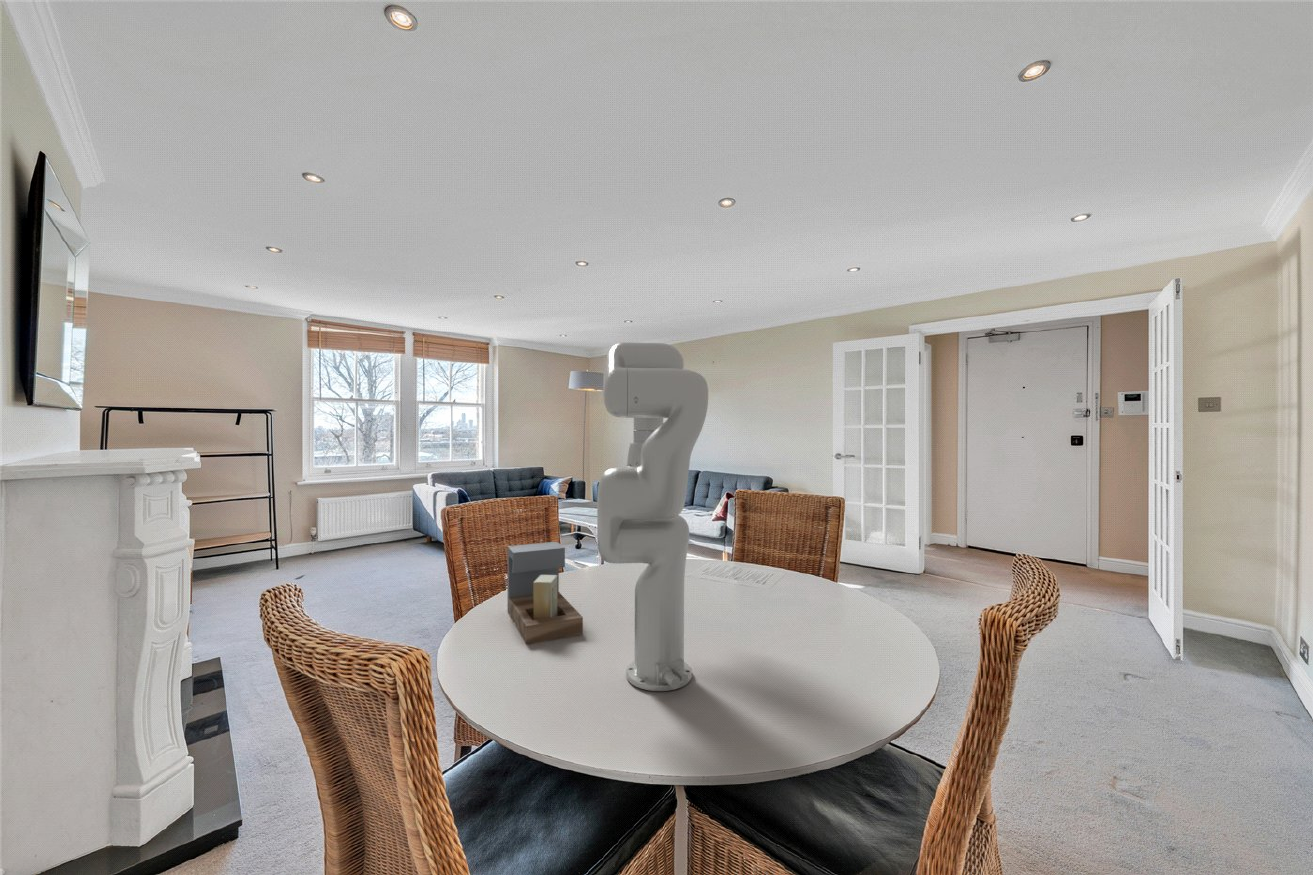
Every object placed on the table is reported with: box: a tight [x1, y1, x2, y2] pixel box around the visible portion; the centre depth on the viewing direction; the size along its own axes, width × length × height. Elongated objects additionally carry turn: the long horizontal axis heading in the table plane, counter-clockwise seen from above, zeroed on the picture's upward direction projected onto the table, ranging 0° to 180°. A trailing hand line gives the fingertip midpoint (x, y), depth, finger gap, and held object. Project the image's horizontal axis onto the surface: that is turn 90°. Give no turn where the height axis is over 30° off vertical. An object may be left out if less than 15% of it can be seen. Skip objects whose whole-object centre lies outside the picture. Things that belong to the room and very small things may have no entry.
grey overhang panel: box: [506, 541, 566, 614], centre depth 136 cm, size 8×13×17 cm, turn 116°
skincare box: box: [533, 575, 557, 620], centre depth 125 cm, size 6×4×12 cm
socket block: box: [508, 591, 584, 645], centre depth 129 cm, size 21×13×4 cm, turn 26°
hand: (648, 505), depth 133 cm, fingers open, 9 cm apart
